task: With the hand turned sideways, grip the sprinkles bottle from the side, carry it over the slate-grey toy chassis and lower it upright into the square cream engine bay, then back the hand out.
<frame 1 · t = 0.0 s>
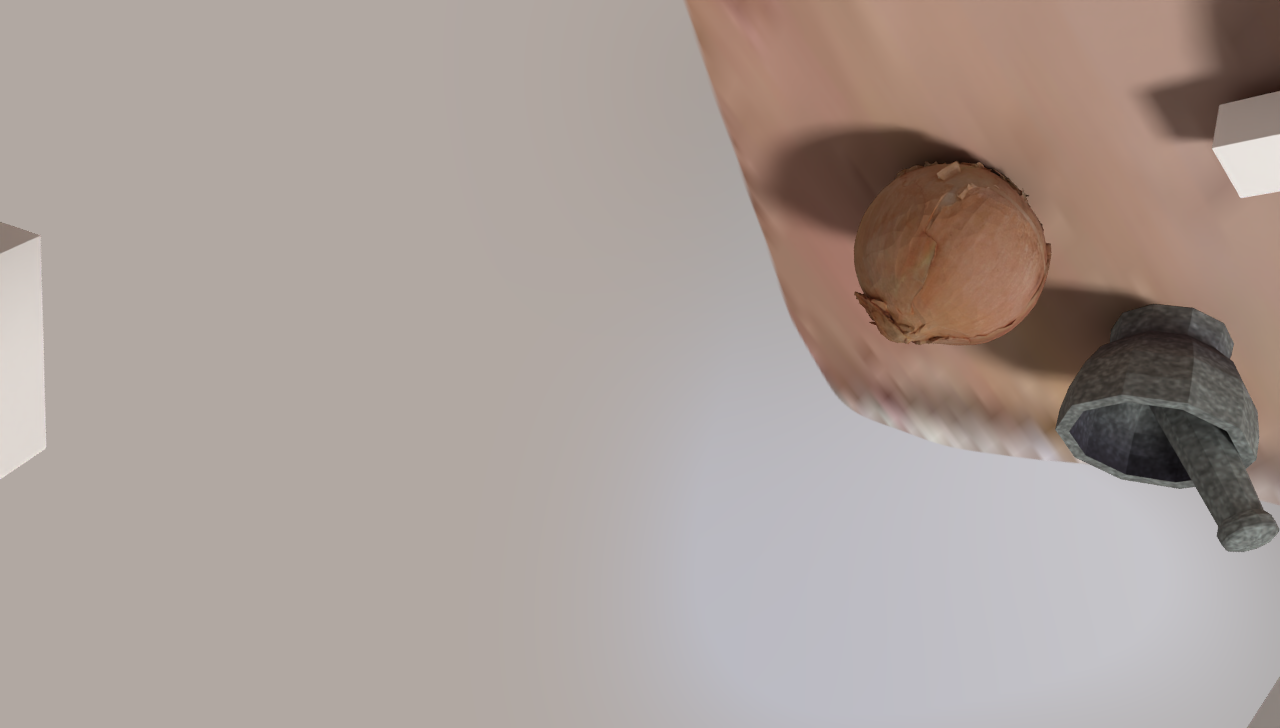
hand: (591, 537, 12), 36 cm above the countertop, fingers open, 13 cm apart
brown round lump: (969, 185, 61), on the countertop
mortar and pestle: (1185, 335, 65), on the countertop
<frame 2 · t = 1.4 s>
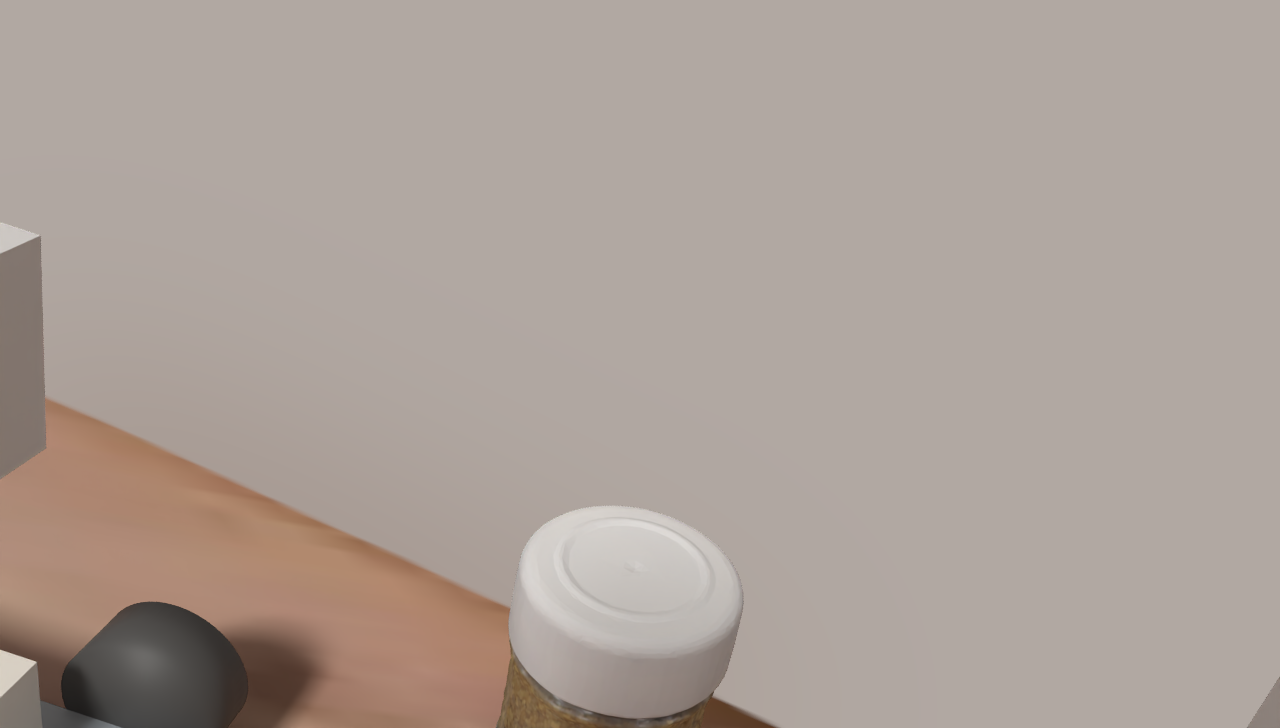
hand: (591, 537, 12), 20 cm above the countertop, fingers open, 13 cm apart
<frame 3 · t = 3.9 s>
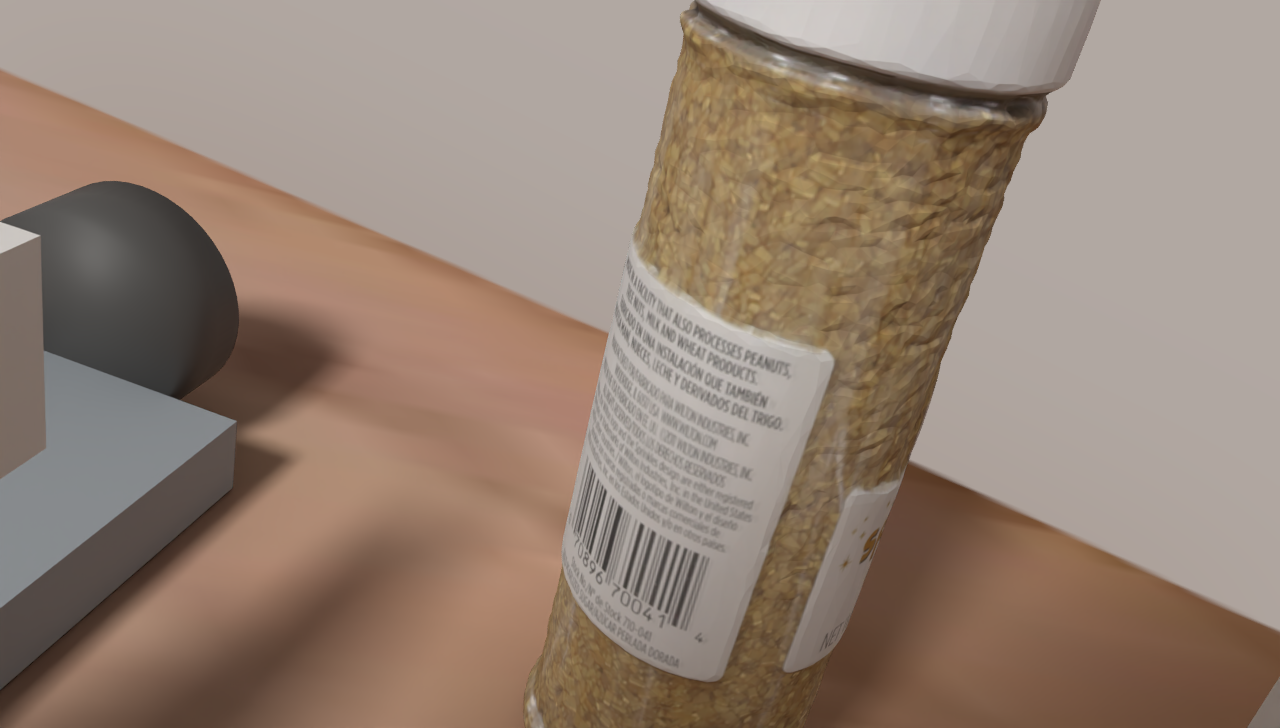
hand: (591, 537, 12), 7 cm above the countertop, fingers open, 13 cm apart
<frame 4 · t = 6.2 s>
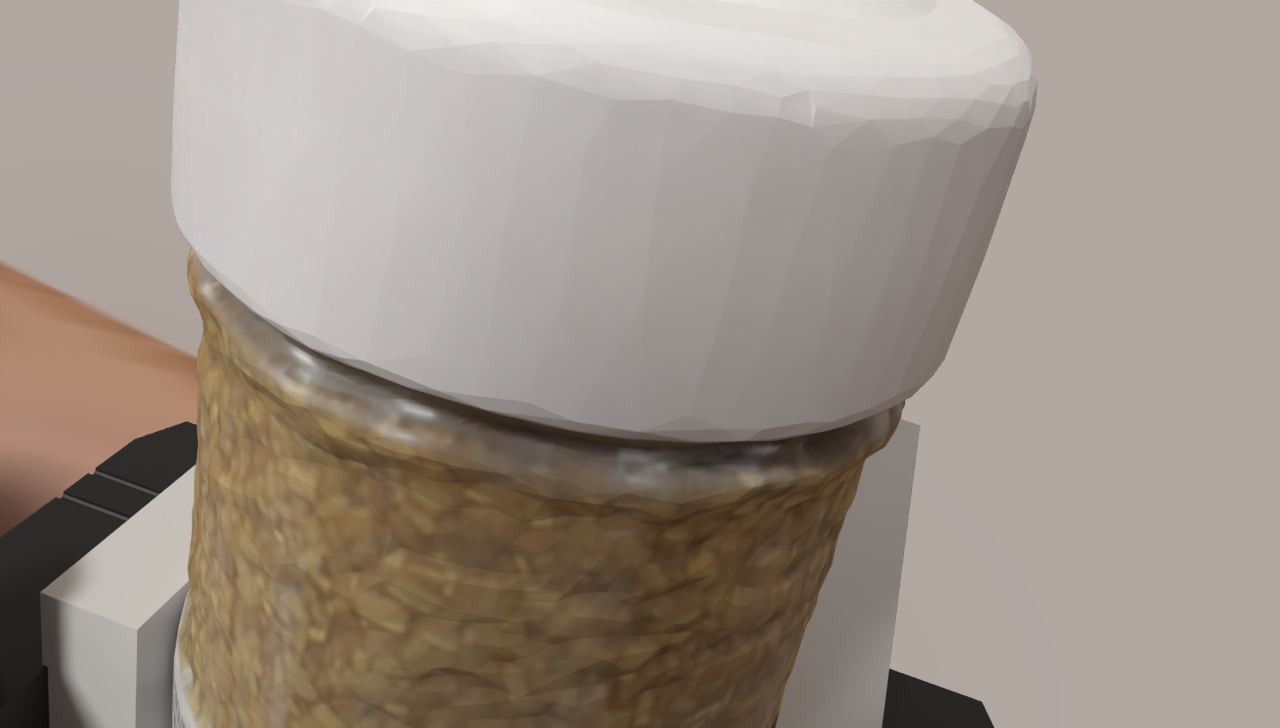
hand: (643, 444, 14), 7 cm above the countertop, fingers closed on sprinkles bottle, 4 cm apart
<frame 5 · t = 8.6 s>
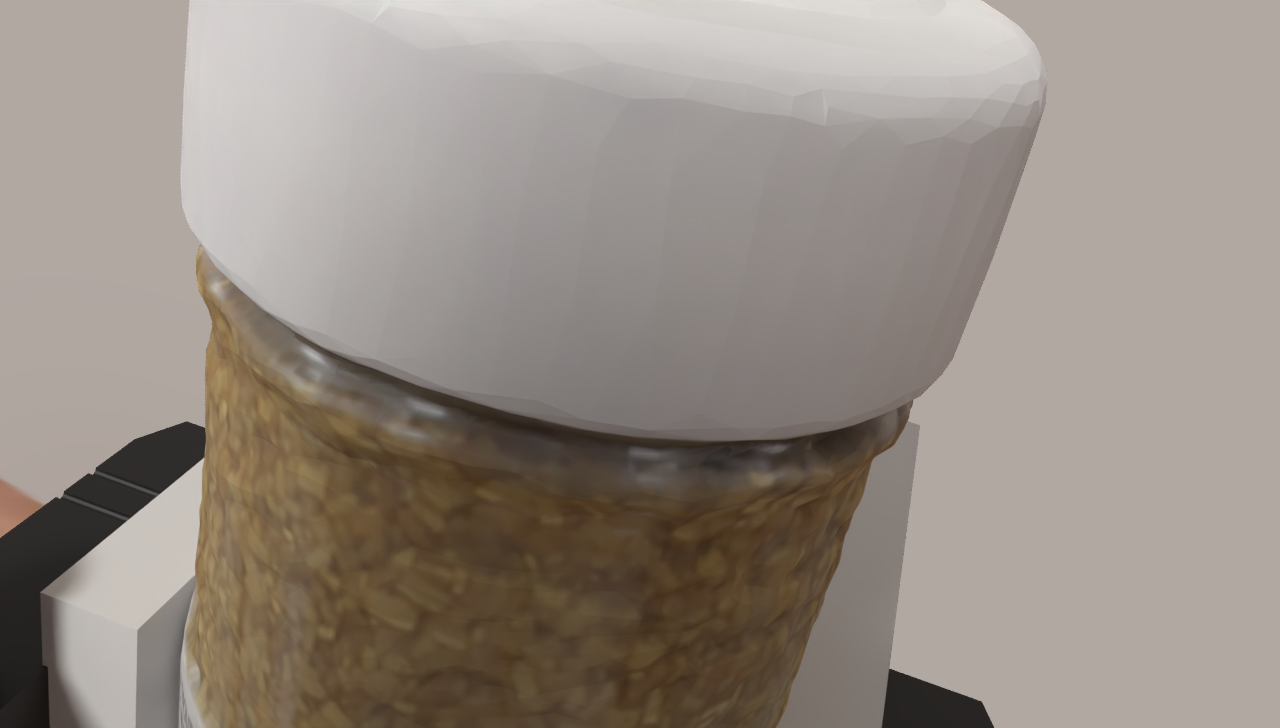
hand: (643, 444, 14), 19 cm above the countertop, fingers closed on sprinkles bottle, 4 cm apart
when the fingers open (10 cm above the countertop, at t = 11.2 s): sprinkles bottle drops 1 cm, resting on toy chassis.
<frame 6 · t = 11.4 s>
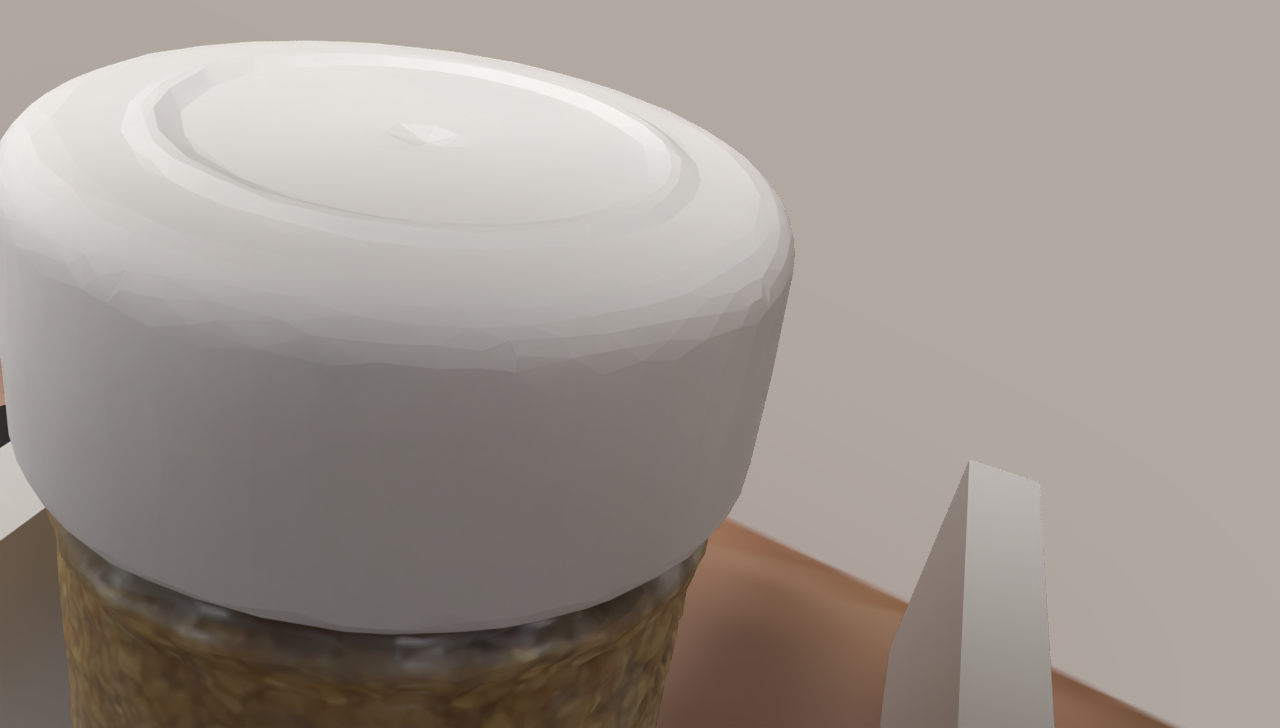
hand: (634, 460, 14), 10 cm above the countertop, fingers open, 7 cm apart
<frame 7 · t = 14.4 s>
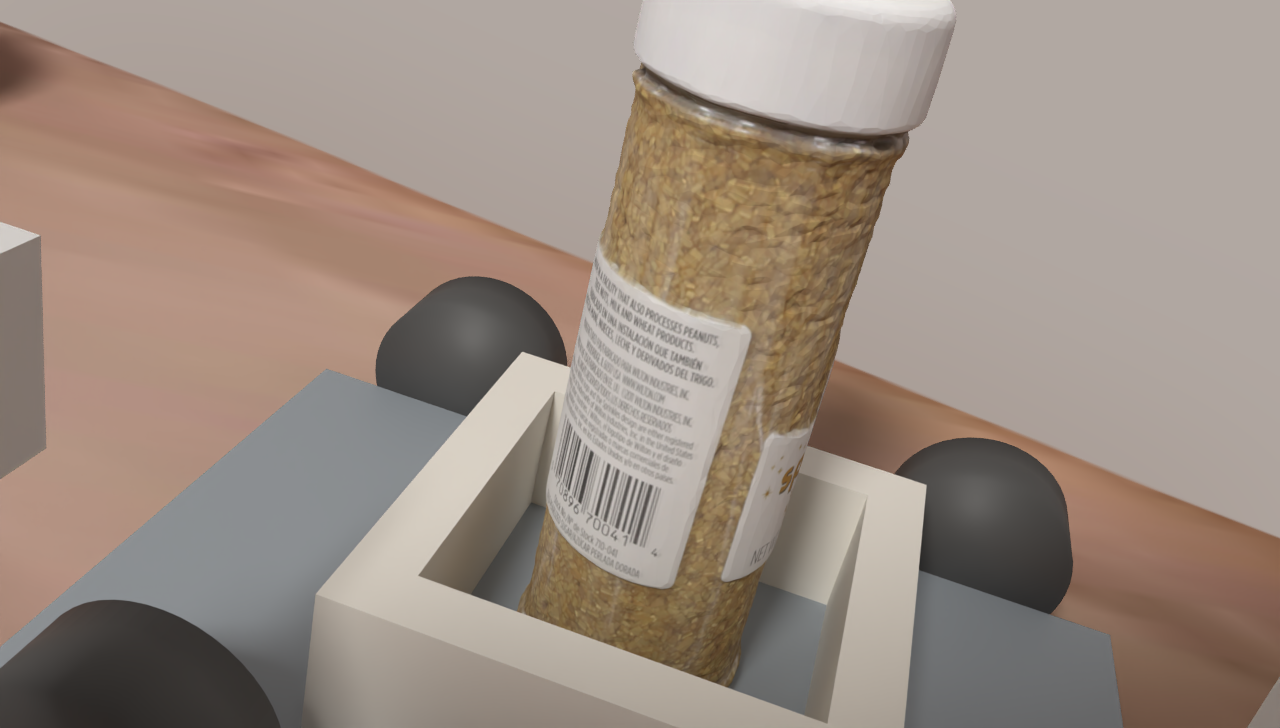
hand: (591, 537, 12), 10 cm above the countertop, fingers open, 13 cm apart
sprinkles bottle: (620, 653, 24), point 1 cm above the countertop, touching toy chassis
toy chassis: (619, 704, 24), on the countertop
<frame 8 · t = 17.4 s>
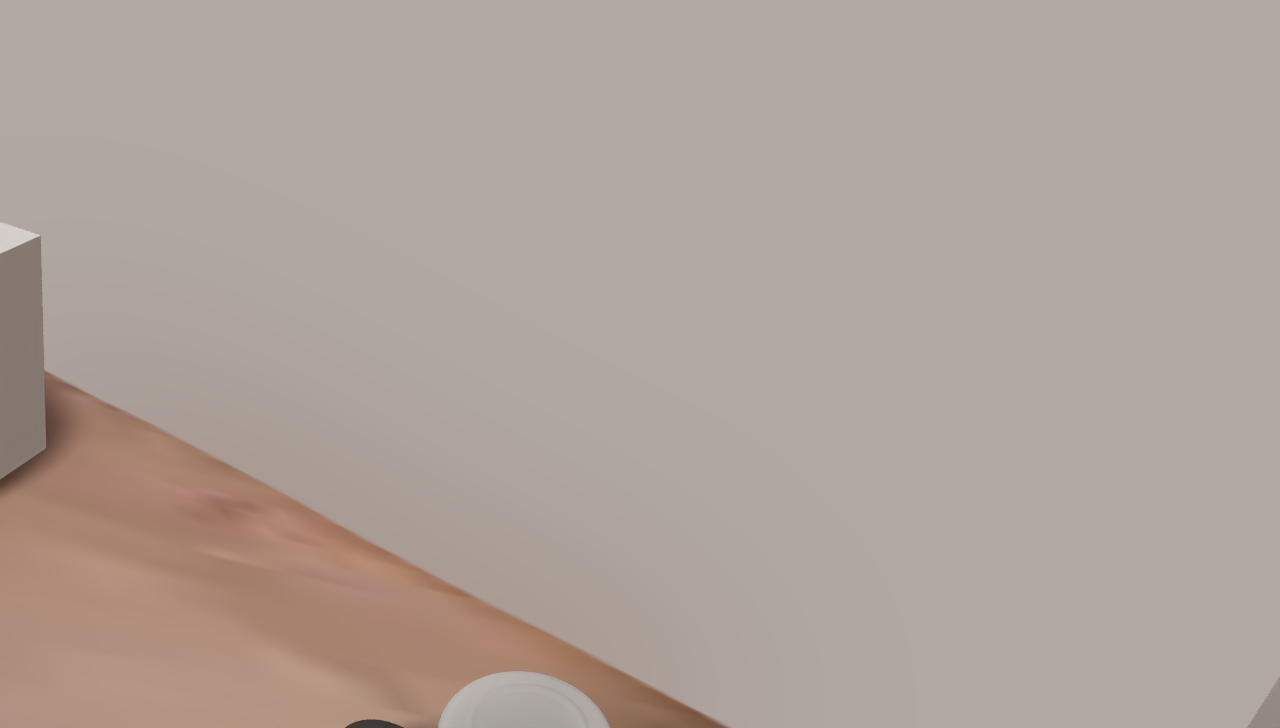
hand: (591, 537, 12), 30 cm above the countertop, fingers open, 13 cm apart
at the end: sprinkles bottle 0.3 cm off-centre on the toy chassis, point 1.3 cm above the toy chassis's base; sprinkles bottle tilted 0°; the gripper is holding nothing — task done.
